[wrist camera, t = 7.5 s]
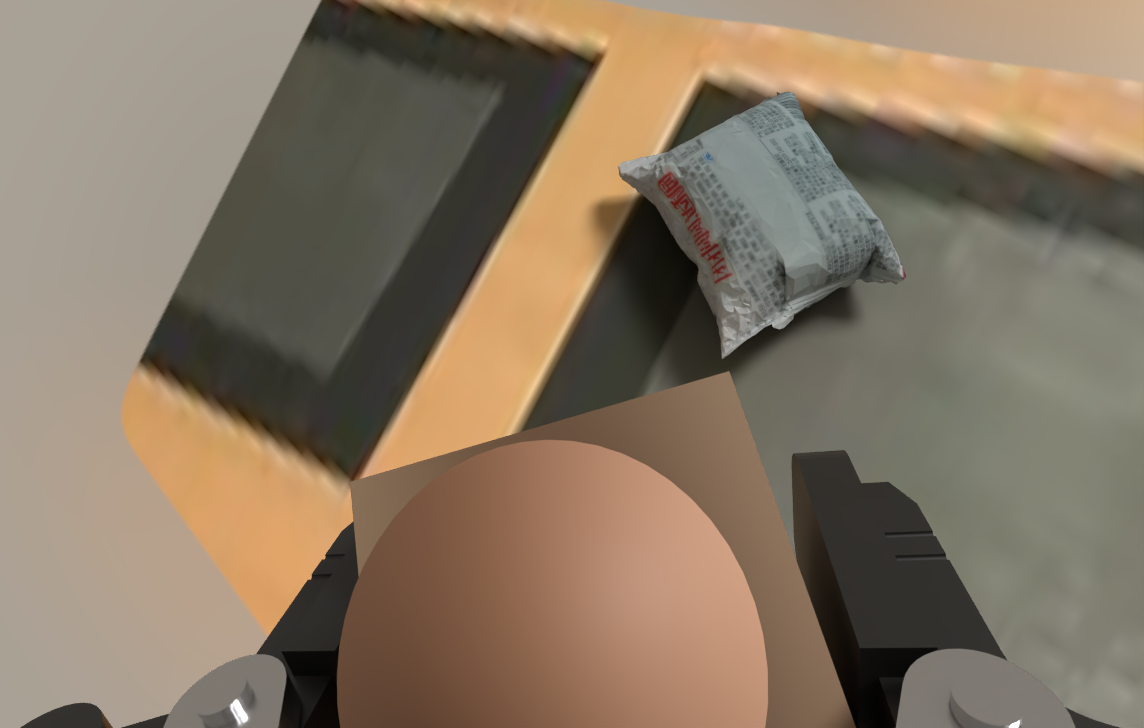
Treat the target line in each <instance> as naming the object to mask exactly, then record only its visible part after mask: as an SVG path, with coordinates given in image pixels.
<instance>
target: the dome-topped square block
mask: <svg viewBox="0 0 1144 728" xmlns="http://www.w3.org/2000/svg"><path fill="white" fill-rule="evenodd" d="M350 487H351V498H352V509H353V520H354V531H355V542H356V553H357V564H358V575H359V578H358V580H357V583H356V585H355V587H354V590H353V593H352V596H351V599H350V603H349V606H348V609H347V612H346V616H345V620H344V625H343V630H342V635H341V640H340V645H339V657H338V668H337V706H338V714H339V722H340V728H856V726H855V724H854V721H853V718H852V715H851V712H850V710H849V707H848V704H847V701H846V698H845V696H844V693H843V690H842V687H841V684H840V681H839V679H838V676H837V673H836V670H835V667H834V665H833V662H832V659H831V656H830V653H829V651H828V648H827V645H826V642H825V639H824V636H823V634H822V631H821V628H820V625H819V622H818V620H817V617H816V614H815V611H814V608H813V606H812V603H811V600H810V597H809V594H808V591H807V589H806V586H805V583H804V580H803V577H802V575H801V572H800V569H799V566H798V563H797V561H796V558H795V555H794V552H793V549H792V546H791V544H790V541H789V538H788V535H787V532H786V530H785V527H784V524H783V521H782V518H781V516H780V513H779V510H778V507H777V504H776V501H775V499H774V496H773V493H772V490H771V487H770V485H769V482H768V479H767V476H766V473H765V471H764V468H763V465H762V462H761V459H760V456H759V454H758V451H757V448H756V445H755V442H754V440H753V437H752V434H751V431H750V428H749V426H748V423H747V420H746V417H745V414H744V411H743V409H742V406H741V403H740V400H739V397H738V395H737V392H736V389H735V386H734V383H733V381H732V378H731V375H730V372H729V371H728V372H724V373H721V374H718V375H714V376H711V377H707V378H704V379H701V380H697V381H694V382H690V383H687V384H683V385H680V386H677V387H673V388H670V389H666V390H663V391H660V392H656V393H653V394H649V395H646V396H642V397H639V398H636V399H632V400H629V401H625V402H622V403H619V404H615V405H612V406H608V407H605V408H601V409H598V410H595V411H591V412H588V413H584V414H581V415H578V416H574V417H571V418H567V419H564V420H560V421H557V422H554V423H550V424H547V425H543V426H540V427H537V428H533V429H530V430H526V431H523V432H519V433H516V434H513V435H509V436H506V437H502V438H499V439H496V440H492V441H489V442H485V443H482V444H478V445H475V446H472V447H468V448H465V449H461V450H458V451H455V452H451V453H448V454H444V455H441V456H437V457H434V458H431V459H427V460H424V461H420V462H417V463H414V464H410V465H407V466H403V467H400V468H396V469H393V470H390V471H386V472H383V473H379V474H376V475H373V476H369V477H366V478H362V479H359V480H355V481H352V482H350Z"/></svg>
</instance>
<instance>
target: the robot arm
mask: <svg viewBox="0 0 1144 728" xmlns="http://www.w3.org/2000/svg"><path fill="white" fill-rule="evenodd" d="M792 490H793V520H794V541H795V551H796V558H797V563H798V566H799V569H800V572H801V575H802V577H803V580H804V583H805V586H806V589H807V591H808V594H809V597H810V600H811V603H812V606H813V608H814V611H815V614H816V617H817V620H818V622H819V625H820V628H821V631H822V634H823V636H824V639H825V642H826V645H827V648H828V651H829V653H830V656H831V659H832V662H833V665H834V667H835V670H836V673H837V676H838V679H839V681H840V684H841V687H842V690H843V693H844V696H845V698H846V701H847V704H848V707H849V710H850V712H851V715H852V718H853V721H854V724H855V726H856V728H1119V727H1115V726H1112V725H1108V724H1105V723H1102V722H1099V721H1096V720H1093V719H1090V718H1088V717H1085V716H1083V715H1080V714H1078V713H1076V712H1074V711H1072V710H1070V709H1068V708H1066V707H1065V706H1064V705H1063V703H1062V702H1061V701H1060V700H1059V698H1058V697H1057V696H1056V695H1055V694H1054V693H1053V691H1051V690H1050V689H1049V688H1048V687H1047V686H1046V685H1045V684H1044V683H1043V682H1042V681H1040V680H1039V679H1037V678H1036V677H1035V676H1033V675H1032V674H1031V673H1029V672H1028V671H1026V670H1024V669H1022V668H1021V667H1019V666H1017V665H1016V664H1014V663H1011V662H1009V661H1008V660H1007V659H1006V657H1005V656H1004V654H1003V653H1002V651H1001V650H1000V648H999V646H998V644H997V643H996V641H995V639H994V637H993V636H992V634H991V632H990V630H989V629H988V627H987V625H986V623H985V622H984V620H983V618H982V616H981V615H980V613H979V611H978V609H977V608H976V606H975V604H974V602H973V601H972V599H971V597H970V595H969V594H968V592H967V590H966V588H965V587H964V585H963V583H962V581H961V580H960V578H959V576H958V574H957V573H956V571H955V569H954V567H953V566H952V564H951V562H950V560H947V559H946V554H945V552H944V550H943V548H942V547H941V545H940V543H939V541H938V540H937V538H936V536H933V532H932V529H931V527H930V526H929V524H928V522H927V520H926V519H925V517H924V515H923V513H922V512H921V510H920V508H919V506H918V505H917V503H915V502H914V501H913V500H911V499H910V498H909V497H908V496H906V495H905V494H904V493H902V492H901V491H900V490H898V489H897V488H896V487H894V486H893V485H892V484H890V483H889V482H879V483H861V482H860V480H859V478H858V475H857V473H856V471H855V469H854V467H853V465H852V463H851V460H850V458H849V456H848V454H847V453H846V451H844V450H840V451H825V452H810V453H795V454H793V456H792ZM325 556H326V558H325V560H321V562H320V563H319V565H318V566H317V568H316V569H315V570H314V572H313V573H312V579H311V580H307V582H306V583H305V585H304V586H303V588H302V589H301V591H300V592H299V593H298V595H297V596H296V598H295V599H294V601H293V602H292V603H291V605H290V606H289V608H288V609H287V611H286V612H285V613H284V615H283V616H282V618H281V619H280V621H279V622H278V624H277V625H276V626H275V628H274V629H273V631H272V632H271V634H270V635H269V636H268V638H267V640H266V641H265V642H264V644H263V645H262V646H261V648H260V649H259V651H258V652H257V654H256V655H249V656H245V657H241V658H238V659H235V660H232V661H230V662H228V663H226V664H224V665H222V666H220V667H218V668H216V669H214V670H213V671H211V672H210V673H208V674H207V675H205V676H204V677H203V678H201V679H200V680H199V681H197V682H196V683H195V684H194V685H193V686H192V687H191V688H190V689H189V690H188V691H187V692H186V693H185V694H184V695H183V696H182V697H181V698H180V699H179V701H178V702H177V703H176V705H175V706H174V707H173V709H172V711H171V712H170V714H167V715H163V716H160V717H156V718H153V719H149V720H146V721H143V722H139V723H136V724H133V725H129V726H126V727H122V728H340V722H339V714H338V706H337V668H338V657H339V645H340V640H341V635H342V630H343V625H344V620H345V616H346V612H347V609H348V606H349V603H350V599H351V596H352V593H353V590H354V587H355V585H356V583H357V580H358V578H359V575H358V564H357V553H356V542H355V531H354V522H352V523H351V524H350V525H349V526H347V527H346V528H345V529H344V530H343V531H342V532H341V533H340V535H339V536H338V537H337V539H336V540H335V542H334V543H333V545H332V546H331V547H330V549H329V550H328V552H327V553H326V555H325ZM21 728H113V727H112V726H111V724H110V723H109V722H108V720H107V719H106V717H105V716H104V714H103V713H102V712H101V710H100V709H99V708H98V707H97V706H95V705H93V704H89V703H75V704H71V705H67V706H63V707H60V708H57V709H54V710H52V711H50V712H47V713H45V714H43V715H41V716H40V717H37V718H36V719H34V720H32V721H30V722H29V723H27V724H25V725H24V726H22V727H21Z"/></svg>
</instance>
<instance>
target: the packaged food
mask: <svg viewBox="0 0 1144 728" xmlns="http://www.w3.org/2000/svg"><path fill="white" fill-rule="evenodd" d="M618 168H619V175H620V177H621V178H622V180H624V181H625V182H627V183H628V184H629V185H631V186H632V187H633V188H635V189H636V190H637V191H638V192H640V193H642V194H643V195H644V196H645V197H646V198H647V199H648V200H649V201H650V202H652V203H653V204H654V205H655V206H656V207H657V209H658V211H659V213H660V214H661V216H662V218H663V219H664V221H665V223H666V225H667V227H668V228H669V230H670V232H671V234H672V235H673V236H674V238H675V240H676V242H677V243H678V245H679V246H680V248H681V249H682V250H683V251H684V252H685V254H686V255H687V256H688V258H689V259H690V260H691V261H693V262H694V263H695V264H696V265H698V269H699V271H698V278H697V281H698V283H699V286H700V288H701V290H702V292H703V294H704V296H705V298H706V300H707V302H708V304H709V306H710V308H711V310H712V312H713V314H714V316H715V318H716V320H717V325H718V327H719V335H720V338H721V354H722V359H724V358H725V357H727V356H728V355H729V354H730V353H731V352H733V351H734V350H735V349H736V348H737V347H738V346H740V345H741V344H742V343H743V342H745V341H746V340H747V339H749V338H750V337H752V336H754V335H756V334H757V333H758V332H759V331H761V330H762V329H763V328H764V327H766V326H768V325H771V324H772V327H774V328H777V329H782V328H784V327H785V326H786V325H787V324H788V323H789V322H791V321H792V320H793V318H794V315H796V314H797V313H799V312H801V311H803V310H804V309H805V308H807V309H808V308H809V307H811V306H813V305H814V304H816V303H817V302H818V301H819V300H821V299H823V298H824V297H826V296H827V295H829V294H830V293H832V292H833V291H835V290H836V289H838V288H839V287H843V288H846V287H848V286H850V285H851V284H853V283H854V282H855V281H856V280H858V279H862V280H863V281H865V282H878V283H887V282H892V283H894V284H897V283H898V282H901V281H903V280H904V279H905V277H906V275H905V271H904V268H903V266H902V264H901V263H900V260H899V257H898V254H897V253H896V251H895V249H894V246H893V244H892V242H891V239H890V237H889V235H888V233H887V231H886V229H885V227H884V225H883V223H882V222H881V220H880V219H879V218H878V217H877V216H876V214H875V213H874V212H873V211H872V210H871V208H870V207H869V206H868V205H867V203H866V202H865V201H864V200H863V198H862V197H861V196H860V195H859V193H858V192H857V191H856V190H855V188H854V187H853V186H852V184H851V183H850V182H849V180H848V179H847V178H846V176H845V175H844V174H843V173H842V172H841V170H840V169H839V168H838V167H837V165H836V164H835V162H834V160H833V158H832V155H831V154H830V153H829V151H828V150H827V149H826V147H825V146H824V144H823V143H822V142H821V140H820V139H819V138H818V136H817V135H816V134H815V133H814V131H813V130H812V128H811V127H810V125H809V124H808V122H807V121H806V120H805V119H804V116H803V113H802V110H801V107H800V105H799V102H798V100H797V98H796V97H795V95H794V93H791V92H784V93H781V94H779V93H778V92H777V96H775V97H773V98H770V97H768V98H767V99H765V100H764V101H763V102H762V103H761V104H759V105H757V106H755V107H753V108H751V109H749V110H747V111H745V112H743V113H741V114H740V115H734V116H733V117H732V118H730V119H728V120H727V121H725V122H724V123H722V124H720V125H718V126H716V127H714V128H712V129H710V130H708V131H706V132H704V133H702V134H700V135H699V136H697V137H695V138H693V139H692V140H689V141H687V142H685V143H683V144H681V145H679V146H677V147H675V148H674V149H672V150H670V151H669V152H666V153H662V154H657V155H653V156H649V157H641V158H638V159H635V160H631V161H626V162H623V163H621V164H620V165H619V167H618ZM880 280H884V281H883V282H882V281H880Z"/></svg>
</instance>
